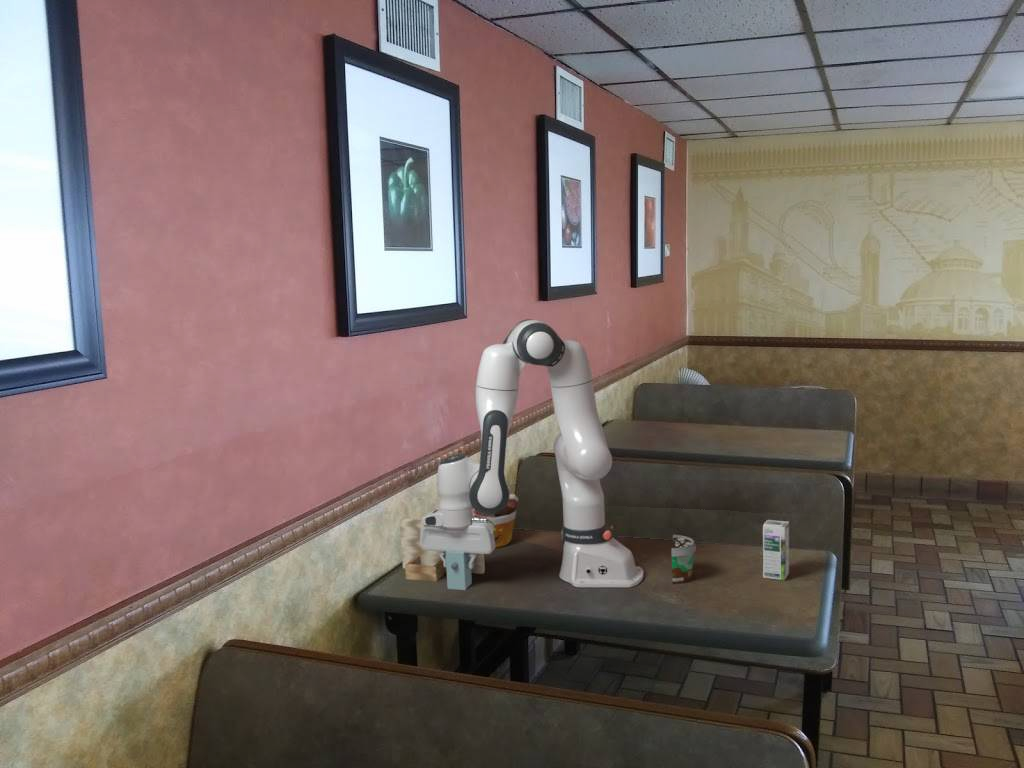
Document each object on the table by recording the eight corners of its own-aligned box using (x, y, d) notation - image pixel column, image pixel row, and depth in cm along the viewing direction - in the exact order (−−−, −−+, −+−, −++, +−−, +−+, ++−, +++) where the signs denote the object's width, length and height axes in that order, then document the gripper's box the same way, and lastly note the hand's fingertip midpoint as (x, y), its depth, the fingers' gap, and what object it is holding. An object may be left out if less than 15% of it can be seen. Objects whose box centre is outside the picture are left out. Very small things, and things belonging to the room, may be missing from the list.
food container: (696, 586, 240) (695, 549, 238) (672, 586, 241) (671, 548, 240) (696, 570, 252) (696, 534, 250) (673, 569, 253) (672, 534, 252)
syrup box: (762, 578, 244) (762, 524, 242) (767, 571, 249) (767, 518, 247) (784, 581, 241) (784, 526, 239) (789, 573, 246) (789, 520, 244)
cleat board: (484, 571, 258) (482, 522, 256) (473, 584, 249) (470, 533, 247) (405, 566, 265) (402, 518, 263) (390, 578, 256) (387, 528, 254)
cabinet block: (471, 583, 249) (470, 547, 248) (464, 591, 244) (462, 554, 243) (454, 582, 251) (452, 546, 250) (446, 589, 245) (444, 553, 244)
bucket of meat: (531, 538, 286) (528, 475, 283) (506, 555, 271) (503, 488, 268) (474, 532, 295) (471, 470, 292) (447, 547, 280) (443, 483, 277)
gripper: (497, 515, 245) (499, 565, 247) (425, 511, 251) (428, 561, 253) (489, 522, 239) (492, 574, 241) (416, 518, 245) (419, 569, 247)
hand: (458, 567), depth 247 cm, fingers closed on cabinet block, 5 cm apart
